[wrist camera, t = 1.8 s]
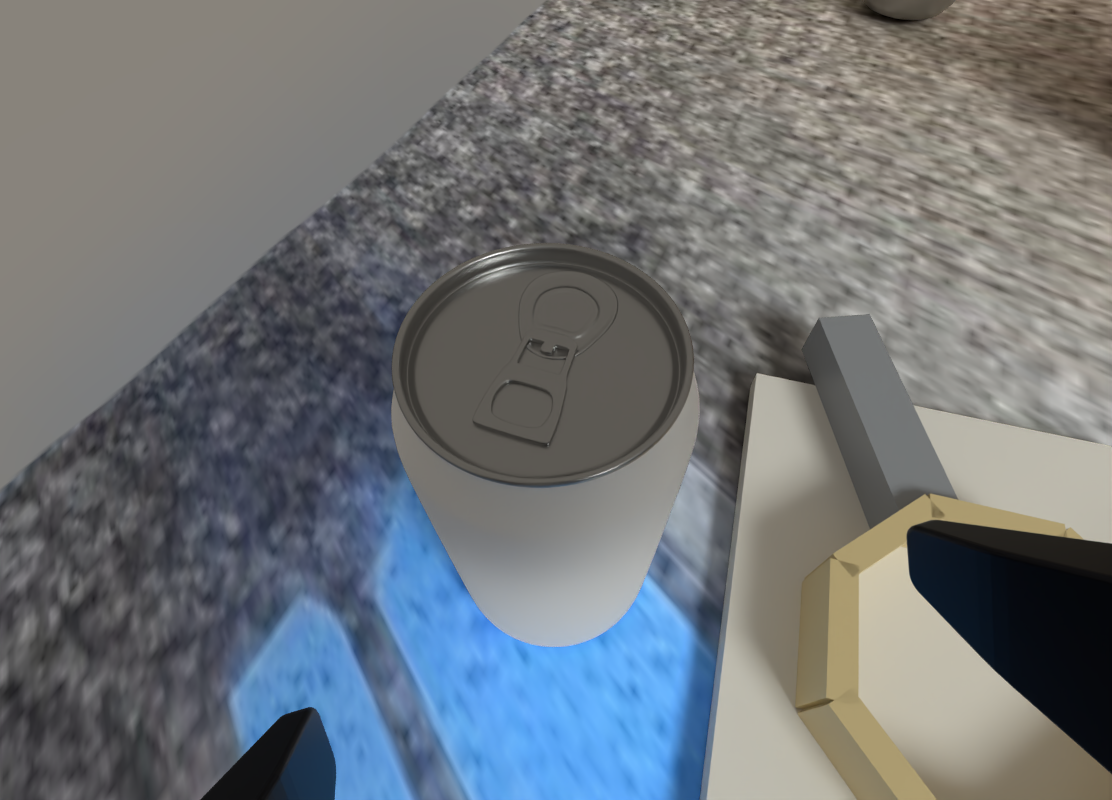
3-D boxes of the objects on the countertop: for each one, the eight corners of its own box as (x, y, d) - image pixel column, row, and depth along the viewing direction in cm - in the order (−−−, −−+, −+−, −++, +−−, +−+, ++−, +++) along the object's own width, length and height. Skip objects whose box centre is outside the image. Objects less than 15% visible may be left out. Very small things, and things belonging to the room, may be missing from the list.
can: (665, 501, 22) (747, 267, 12) (616, 680, 19) (672, 566, 9) (504, 451, 23) (456, 201, 13) (433, 611, 20) (297, 441, 10)
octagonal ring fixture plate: (1406, 1552, 11) (1722, 1843, 8) (648, 1217, 13) (671, 1346, 10) (1109, 413, 24) (1186, 362, 21) (755, 343, 26) (779, 287, 23)
